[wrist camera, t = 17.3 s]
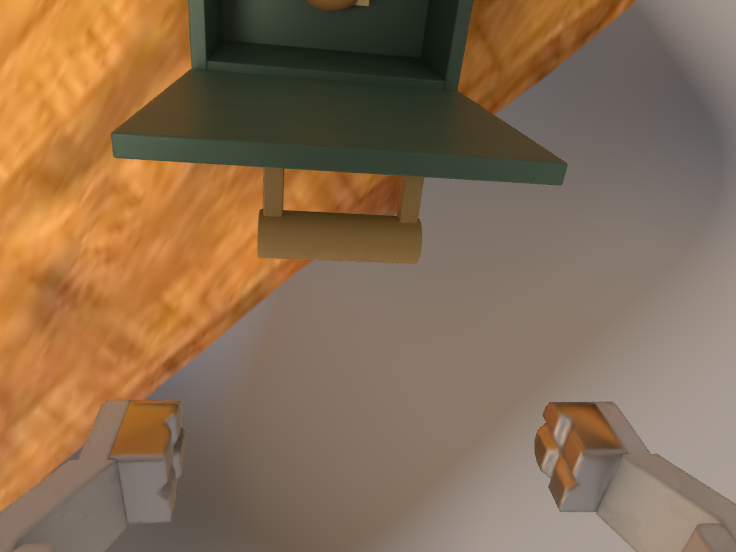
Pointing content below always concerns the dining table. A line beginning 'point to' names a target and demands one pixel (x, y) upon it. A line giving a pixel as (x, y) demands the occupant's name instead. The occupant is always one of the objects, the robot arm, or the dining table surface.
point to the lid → (333, 151)
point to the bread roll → (336, 4)
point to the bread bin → (334, 40)
